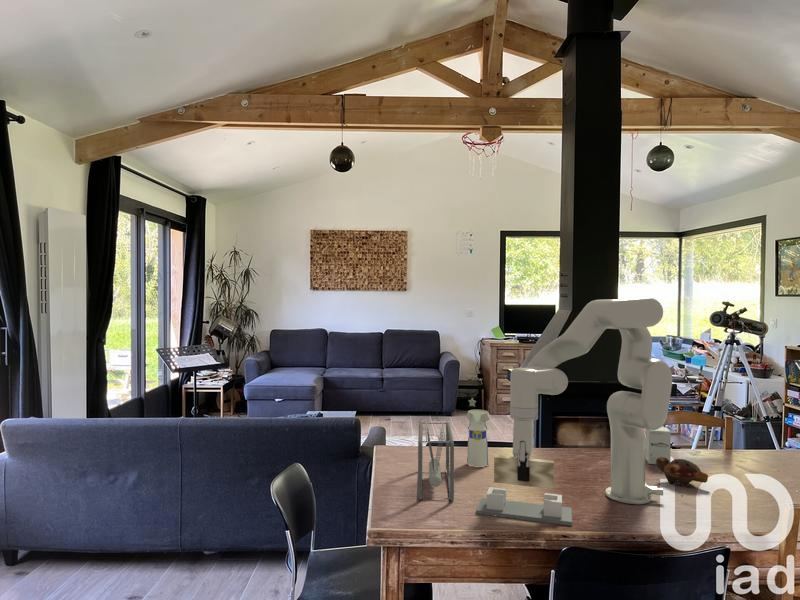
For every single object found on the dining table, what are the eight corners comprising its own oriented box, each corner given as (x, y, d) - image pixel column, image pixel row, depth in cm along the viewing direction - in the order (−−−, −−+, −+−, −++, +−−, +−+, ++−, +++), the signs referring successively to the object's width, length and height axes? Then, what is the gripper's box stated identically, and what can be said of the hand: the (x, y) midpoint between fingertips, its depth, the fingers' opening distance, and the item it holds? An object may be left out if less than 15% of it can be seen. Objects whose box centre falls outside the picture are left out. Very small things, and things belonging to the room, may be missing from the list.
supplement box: (648, 464, 186) (648, 429, 187) (645, 458, 193) (645, 425, 194) (671, 466, 184) (670, 431, 184) (666, 460, 191) (666, 426, 192)
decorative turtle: (659, 475, 174) (659, 452, 174) (710, 485, 164) (710, 460, 164) (652, 483, 166) (652, 458, 166) (705, 493, 157) (705, 467, 157)
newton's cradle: (419, 470, 178) (419, 419, 179) (449, 471, 178) (449, 420, 178) (418, 503, 148) (418, 441, 149) (454, 503, 148) (454, 442, 148)
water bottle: (489, 469, 180) (489, 398, 181) (465, 467, 182) (465, 397, 182) (490, 462, 188) (490, 394, 189) (467, 460, 190) (467, 393, 190)
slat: (553, 486, 140) (553, 460, 140) (553, 489, 138) (553, 463, 138) (495, 479, 145) (495, 454, 145) (493, 482, 143) (494, 457, 143)
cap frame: (571, 511, 142) (571, 493, 142) (572, 525, 133) (572, 506, 133) (481, 501, 150) (481, 484, 150) (476, 513, 140) (476, 495, 140)
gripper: (512, 406, 151) (512, 469, 150) (507, 417, 135) (507, 487, 135) (539, 408, 148) (539, 472, 148) (536, 419, 133) (536, 490, 133)
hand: (523, 478), depth 141 cm, fingers closed on slat, 2 cm apart
